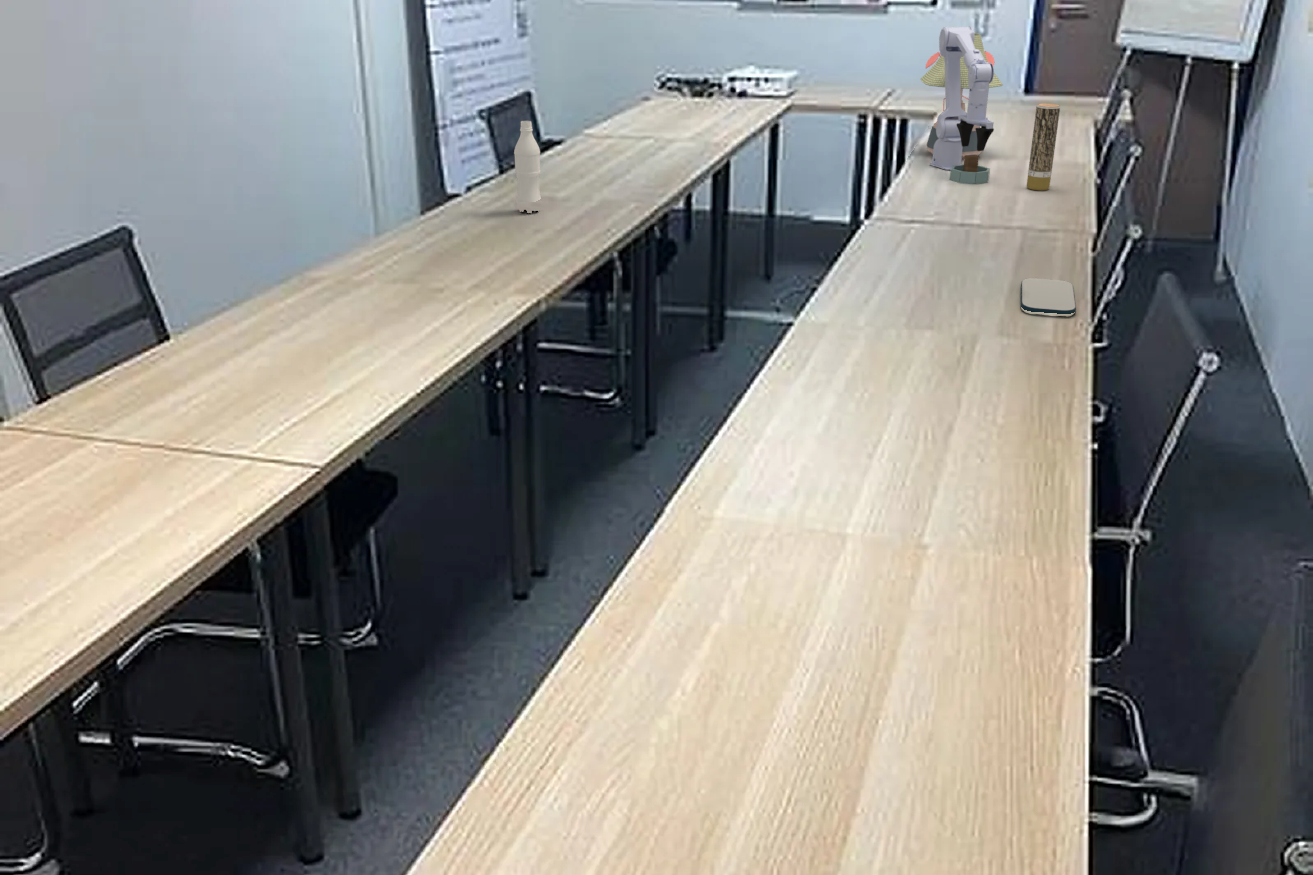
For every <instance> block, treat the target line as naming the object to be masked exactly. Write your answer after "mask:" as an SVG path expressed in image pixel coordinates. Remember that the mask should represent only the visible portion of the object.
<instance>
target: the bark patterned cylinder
mask: <svg viewBox="0 0 1313 875" xmlns="http://www.w3.org/2000/svg"><path fill="white" fill-rule="evenodd" d="M1060 112H1061V105H1060V104H1056V103H1055V104H1054V103H1037V104H1036V108H1035V117H1034V122H1033V131H1032V138H1031V146H1030V147H1031V148H1030V155H1029V162H1028V163H1029V164H1028V170H1027V179H1026V188H1027V189H1028V190H1031V191H1041V192H1043V191H1047V190H1049V189H1050V187H1051V186H1050V185H1051V180H1052V179H1051V178H1052V172H1053V164H1054V159H1055V158H1054V157H1055V156H1054V155H1055V151H1056V150H1055V148H1056V142H1057V135H1058V134H1057V133H1058V126H1059V119H1060Z"/></svg>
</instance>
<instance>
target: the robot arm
mask: <svg viewBox="0 0 1313 875" xmlns="http://www.w3.org/2000/svg"><path fill="white" fill-rule="evenodd" d="M975 33H976V32H975V29H974V28H973V26H971V25H970V26H953V27H952V26H943V27H942V28H941V30H940V34H939V36H938V37H939V38H938V40H939V41H938V44H939V45H938V46H939V47H938V48H939V53H940V55H942V56H943V57H944V62H945V87H944V91H945V96H944V97H945V109H944V111H942V112H941V113H939V114H938V115H937V119H936V122H937V126H936V134H937V137H938V138H939V139H938V140H937V141H936V142H935V144H934V149H933V154H932V159H931V160H932V162H930V163H929V165H930V166H933V167H936V168H939V169H942V170H946V171H951V168H952V166H956V165H962V159H961V158H962V148H963V147H965V146H968V145H969V141H970V136H971V132H972V129H973V127H974V125H977V126H980V128H976V133H977V151H982V152H984V151H985V148H986V146H987V142H988V140H990V139H989V138H990V137H991V135H992V134H993V133H994V131H995V128H994V123H995V122H994V121H992V120H989V119H988V117H986V116H987V108H988V100H989V99H988V98H989V89H990V88H989V83H991V82H992V80H993V77H994V73H995V68H994V67H995V66H994V67H993V65H992V63H989V62H986V61H985V59H984V57H983V55H982V53H981V52H980V51H979V50H978V49H975V46H974V44H973V42H974V38H975ZM962 56H964V58H963V61H964V63H965V65H966V67H967V69H968V71H969V72H968V80H969V84H968V86H969V88H970V89H968V91H969V92H968V99H969V100H968V99H967V100H968V101H967V110H965V111H964V110H962V109H961V83H960V58H961V57H962ZM966 111H967V112H966Z"/></svg>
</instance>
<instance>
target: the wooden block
mask: <svg viewBox="0 0 1313 875" xmlns="http://www.w3.org/2000/svg"><path fill="white" fill-rule="evenodd" d="M979 155H980V154H978V155H975V154H974V155H965V156H964V159H963V165H964V166H963V171H966V172H977V169H978V165H979V158H980V156H979Z"/></svg>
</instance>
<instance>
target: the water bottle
mask: <svg viewBox="0 0 1313 875" xmlns="http://www.w3.org/2000/svg"><path fill="white" fill-rule="evenodd" d="M519 131H520V136H519V138H518V140H517V142H516V144H515V146H514V152H513V154H514V172H515V175H516V181H517V195H516V200H517V201H518V202H536V201H538V200H540V199H542V197H541V191H540V190H541V189H540V176H541V156H540V154H541V149H540V147H539V144H538V143H537V140H536V139H535V137H534V134H533V125H532V121H531V120H521V121H520V129H519ZM516 200H515V201H516Z"/></svg>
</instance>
